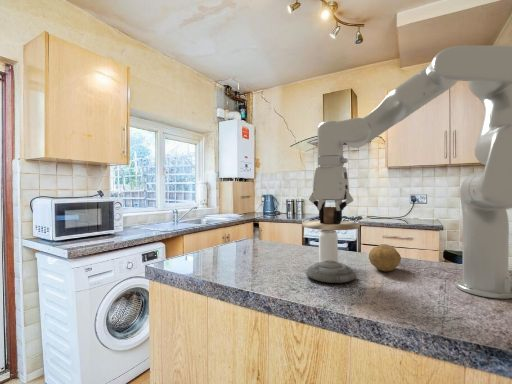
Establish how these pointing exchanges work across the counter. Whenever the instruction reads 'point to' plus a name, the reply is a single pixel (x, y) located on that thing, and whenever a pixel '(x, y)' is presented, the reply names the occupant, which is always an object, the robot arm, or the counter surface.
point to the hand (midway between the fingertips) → (330, 222)
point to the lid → (330, 222)
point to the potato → (384, 257)
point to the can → (328, 245)
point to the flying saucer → (331, 272)
